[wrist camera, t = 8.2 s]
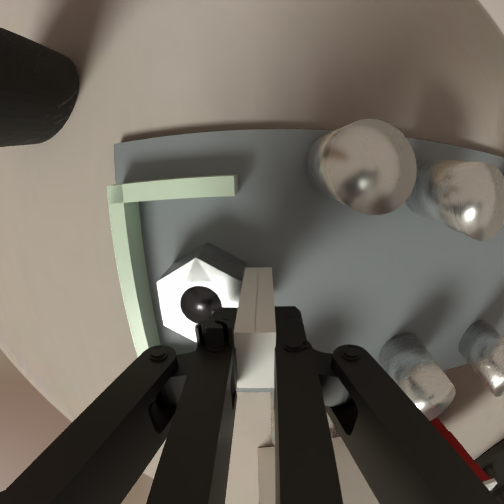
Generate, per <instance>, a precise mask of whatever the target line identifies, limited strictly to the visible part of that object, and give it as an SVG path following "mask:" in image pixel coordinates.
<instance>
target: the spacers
mask: <svg viewBox="0 0 504 504" xmlns="http://www.w3.org/2000/svg"><path fill="white" fill-rule="evenodd" d="M305 171H306V174H307V177H308V179H309V181H310V183H311V184H312V185H313V186H314V188H316V189H317V190H318V191H319V192H321V193H323V194H325V195H327V196H329V197H331V198H333V199H335V200H337V201H338V202H340V203H342V204H344V205H346V206H348V207H350V208H352V209H354V210H356V211H357V212H360V213H363V214H367V215H383V214H387V213H390V212H392V211H394V210H396V209H397V208H399V207H400V206H401V205H402V204H403V203H404V202H405V203H406V205H407V206H408V208H409V209H410V210H411V211H412V212H413V213H415V214H417V215H419V216H422V217H424V218H427V219H429V220H432V221H434V222H437V223H439V224H441V225H444V226H446V227H448V228H451V229H453V230H455V231H458V232H460V233H462V234H464V235H467V236H469V237H471V238H473V239H475V240H478V241H487V240H490V239H492V238H493V237H495V236H496V235H497V234H498V233H499V231H500V230H501V228H502V227H503V225H504V173H501V171H500V170H499V169H498V168H497V167H496V166H494V165H493V164H490V163H486V162H474V161H459V160H439V159H420V160H417V161H416V159H415V155H414V152H413V149H412V147H411V145H410V143H409V141H408V140H407V138H406V137H405V136H404V135H403V134H402V132H401V131H399V130H398V129H397V128H396V127H394V126H393V125H391V124H389V123H387V122H385V121H382V120H378V119H361V120H357V121H355V122H353V123H350V124H348V125H346V126H344V127H341V128H339V129H337V130H335V131H333V132H330V133H328V134H326V135H324V136H322V137H320V138H318V139H317V140H316V141H314V142H313V143H312V145H311V146H310V147H309V149H308V151H307V154H306V157H305ZM459 352H460V353H461V355H462V356H463V357H464V358H465V359H466V361H467V362H468V363H469V364H470V365H471V367H472V368H473V369H474V370H475V371H476V373H477V374H478V375H479V376H480V378H481V379H482V380H483V381H484V383H485V384H486V385H487V387H488V388H489V389H490V390H491V392H492V393H493V394H494V396H501V395H503V394H504V337H503V336H502V335H501V334H500V333H499V332H498V331H496V330H495V329H494V328H493V327H492V326H491V325H490V324H489V323H488V322H486V321H485V320H478V321H476V322H474V323H473V324H472V325H471V326H470V327H469V328H468V329H467V330H466V331H465V333H464V334H463V336H462V338H461V340H460V343H459ZM378 362H379V365H380V366H381V367H382V368H383V369H384V370H385V371H386V372H387V373H388V375H389V376H390V377H391V378H392V379H393V380H394V381H395V382H396V383H397V385H398V386H399V387H400V388H401V389H402V390H403V391H404V392H405V394H406V395H407V396H408V397H409V398H410V399H411V400H412V401H413V403H414V404H415V405H416V406H417V407H418V408H419V409H420V410H421V412H422V413H423V414H424V415H425V416H426V417H427V418H428V419H429V421H431V420H433V419H434V418H436V417H437V416H439V415H440V414H441V413H443V412H444V411H445V410H446V409H447V408H448V406H449V405H450V404H451V402H452V401H453V399H454V396H455V392H456V390H455V387H454V386H453V384H452V383H451V381H450V380H449V378H448V377H447V376H446V374H445V373H444V371H443V370H442V369H441V367H440V366H439V365H438V363H437V362H436V360H435V359H434V358H433V356H432V355H431V354H430V352H429V351H428V350H427V348H426V347H425V346H424V344H423V343H422V342H421V340H420V339H419V338H418V336H417V335H415V334H413V333H410V332H405V333H400V334H398V335H396V336H394V337H392V338H391V339H389V340H388V341H387V342H386V343H385V344H384V346H383V347H382V348H381V350H380V352H379V356H378ZM270 394H271V441H272V443H273V444H274V445H275V419H274V388H270ZM326 413H327V412H326ZM327 418H328V423H329V428H330V433H331V438H332V437H333V435H334V426H333V422H332V421H331V419H330V417H329V415H328V414H327Z"/></svg>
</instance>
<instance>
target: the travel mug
mask: <svg viewBox="0 0 504 504" xmlns="http://www.w3.org/2000/svg"><path fill="white" fill-rule="evenodd" d="M78 83H79V80H78V73H77V69H76V67H75V65H74V63H73V62H72V61H71V60H70V59H69V58H67V57H65V56H64V55H62V54H60V53H58V52H56V51H54V50H52V49H49V48H47V47H45V46H43V45H41V44H39V43H36V42H34V41H32V40H29V39H27V38H25V37H22V36H20V35H18V34H15V33H13V32H10V31H8V30H5V29H3V28H0V147H5V146H16V145H28V144H37V143H42V142H44V141H47V140H48V139H50V138H52V137H53V136H54V135H55V134H56V133H57V132H58V131H59V130H60V129H61V128H62V127H63V125H64V124H65V122H66V121H67V119H68V117H69V116H70V114H71V112H72V109H73V107H74V104H75V101H76V97H77V93H78Z"/></svg>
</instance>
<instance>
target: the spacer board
mask: <svg viewBox="0 0 504 504" xmlns="http://www.w3.org/2000/svg"><path fill="white" fill-rule="evenodd" d="M333 131H335V130H315V129H251V130H228V131H213V132H201V133H190V134H180V135H171V136H163V137H155V138H148V139H141V140H135V141H129V142H123V143H117V144H114V162H115V179H116V184H121V183H129V182H138V181H148V180H158V179H170V178H182V177H196V176H213V175H235V174H238V193H237V194H236V195H235V196H223V197H200V198H182V199H166V200H152V201H139V211H140V221H141V230H142V239H143V247H144V254H145V261H146V268H147V275H148V281H149V287H150V293H151V299H152V304H153V310H154V315H155V320H156V325H157V330H158V334H159V339H160V344H161V345H164V346H169V347H172V348H173V349H174V350H175V351H176V354H177V355H178V354H185V353H190V352H193V351H196V348H197V342H195V341H193V340H191V339H189V338H187V337H185V336H183V335H181V334H180V333H178V332H176V331H174V330H172V329H170V328H168V327H166V326H164V323H163V318H162V312H161V306H160V300H159V294H158V288H157V281H158V280H159V279H160V278H161V276H162V275H163V274H164V273H165V272H166V271H167V269H168V268H169V267H170V266H171V265H172V264H173V263H174V262H176V261H177V260H179V259H180V258H182V257H184V256H185V255H187V254H188V253H190V252H192V251H193V250H195V249H196V248H198V247H200V246H201V245H203V244H204V243H206V242H209V243H211V244H213V245H215V246H216V247H218V248H220V249H222V250H224V251H226V252H228V253H230V254H232V255H233V256H235V257H237V258H239V259H241V260H243V261H245V262H247V268H254V267H272V277H273V292H274V306H295V307H296V308H298V309H299V310H300V311H301V316H302V320H303V324H304V329H305V334H306V338H307V341H309V342H310V344H311V345H312V348H313V349H315V350H317V351H320V352H324V353H331V354H333V352H334V350H335V349H336V348H337V347H339V346H342V345H347V344H351V345H357V346H360V347H363V348H364V349H365V350H367V351H368V353H369V354H370V355H371V356H372V357H373V358H374V359H375V360H376V361H377V362H378V356H379V352H380V350H381V348H382V347H383V346H384V344H385V343H386V342H387V341H388V340H389V339H391V338H392V337H394V336H396V335H398V334H400V333H405V332H410V333H413V334H415V335H417V336H418V338H419V339H420V340H421V342H422V343H423V344H424V346H425V347H426V348H427V350H428V351H429V352H430V354H431V355H432V356H433V358H434V359H435V360H436V362H437V363H438V365H439V366H440V367H441V369H442V370H443V371H444V370H448V369H452V368H456V367H460V366H463V365H467V364H469V363H468V362H467V361H466V359H465V358H464V357H463V356H462V355H461V353H460V352H459V343H460V340H461V338H462V336H463V334H464V333H465V331H466V330H467V329H468V328H469V327H470V326H471V325H472V324H473V323H474V322H476V321H478V320H485V321H486V322H488V323H489V324H490V325H491V326H492V327H493V328H494V329H495V330H496V331H498V332H499V333H500V334H501V335H502V336H503V337H504V225H503V227H502V228H501V230H500V231H499V233H498V234H497V235H496V236H495V237H493V238H492V239H490V240H487V241H478V240H475V239H473V238H471V237H469V236H467V235H464V234H462V233H460V232H458V231H455V230H453V229H451V228H448V227H446V226H444V225H441V224H439V223H437V222H434V221H432V220H429V219H427V218H424V217H422V216H419V215H417V214H415V213H413V212H412V211H411V210H410V209H409V208H408V206H407V205H406V203H405V202H404V203H403V204H402V205H401V206H400V207H399V208H397V209H396V210H394V211H392V212H390V213H387V214H383V215H367V214H363V213H360V212H357V211H356V210H354V209H352V208H350V207H348V206H346V205H344V204H342V203H340V202H338V201H337V200H335V199H333V198H331V197H329V196H327V195H325V194H323V193H321V192H319V191H318V190H317V189H316V188H314V186H313V185H312V184H311V183H310V181H309V179H308V177H307V174H306V171H305V157H306V154H307V151H308V149H309V147H310V146H311V145H312V143H313V142H314V141H316V140H317V139H318V138H320V137H322V136H324V135H326V134H328V133H330V132H333ZM406 138H407V140H408V141H409V143H410V145H411V147H412V149H413V152H414V155H415V159H416V161H417V160H420V159H439V160H459V161H474V162H486V163H490V164H493V165H494V166H496V167H497V168H498V169H499V170H500V171H501V173H504V157H501V156H497V155H493V154H489V153H485V152H481V151H477V150H473V149H469V148H464V147H459V146H455V145H450V144H444V143H439V142H433V141H427V140H421V139H415V138H408V137H406ZM378 364H379V362H378ZM236 391H237V392H270V388H238V387H236Z"/></svg>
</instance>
